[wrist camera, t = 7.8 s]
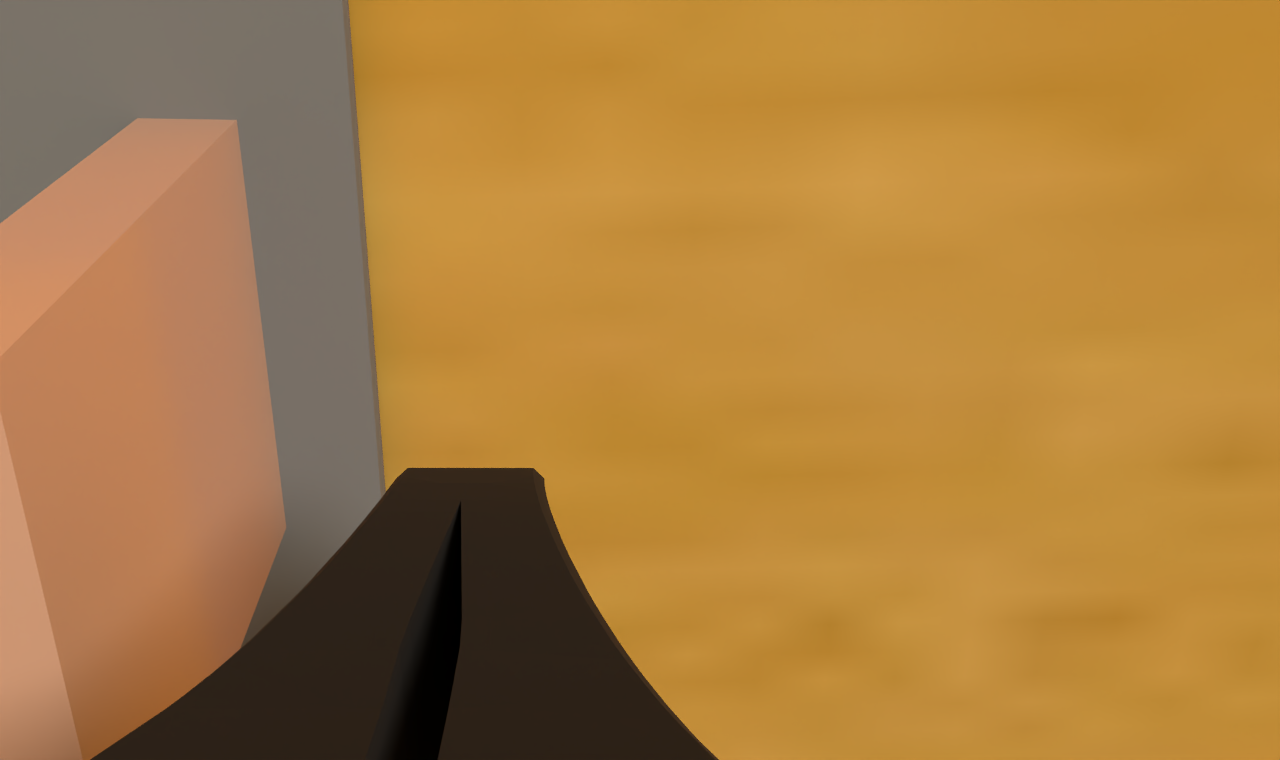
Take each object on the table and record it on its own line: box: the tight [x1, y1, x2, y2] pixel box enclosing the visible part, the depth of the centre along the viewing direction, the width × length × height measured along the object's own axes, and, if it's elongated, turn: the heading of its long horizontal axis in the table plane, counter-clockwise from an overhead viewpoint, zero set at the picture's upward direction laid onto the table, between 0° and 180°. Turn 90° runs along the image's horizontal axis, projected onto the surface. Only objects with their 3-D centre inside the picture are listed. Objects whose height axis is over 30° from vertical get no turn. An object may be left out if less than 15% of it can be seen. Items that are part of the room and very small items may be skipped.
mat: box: [0, 0, 385, 648], centre depth 17 cm, size 17×11×1 cm, turn 178°
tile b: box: [0, 118, 286, 760], centre depth 13 cm, size 6×1×7 cm, turn 178°
